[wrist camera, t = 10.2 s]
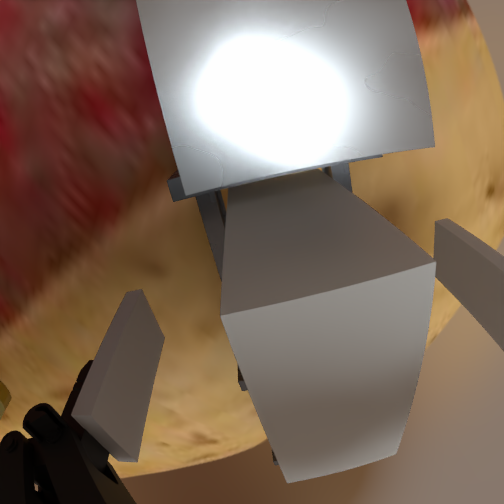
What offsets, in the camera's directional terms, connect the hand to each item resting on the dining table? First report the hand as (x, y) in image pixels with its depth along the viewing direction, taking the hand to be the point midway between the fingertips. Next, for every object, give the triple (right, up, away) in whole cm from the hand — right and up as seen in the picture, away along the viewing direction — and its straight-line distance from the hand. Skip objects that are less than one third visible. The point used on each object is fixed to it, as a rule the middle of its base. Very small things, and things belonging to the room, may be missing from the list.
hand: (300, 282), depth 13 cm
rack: (0, +2, +5) cm, 5 cm away
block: (0, +2, +4) cm, 4 cm away
